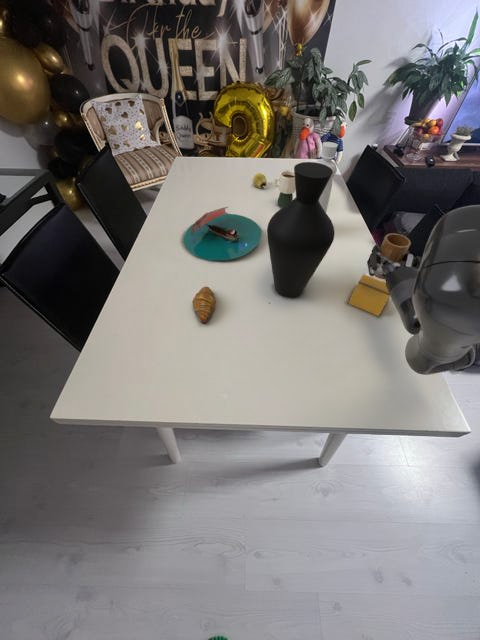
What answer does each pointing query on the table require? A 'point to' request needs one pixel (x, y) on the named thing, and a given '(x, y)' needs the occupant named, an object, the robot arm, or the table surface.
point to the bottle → (327, 156)
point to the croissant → (204, 304)
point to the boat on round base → (222, 236)
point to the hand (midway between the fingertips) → (388, 248)
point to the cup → (394, 248)
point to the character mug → (285, 187)
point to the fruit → (259, 180)
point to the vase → (300, 231)
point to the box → (370, 295)
